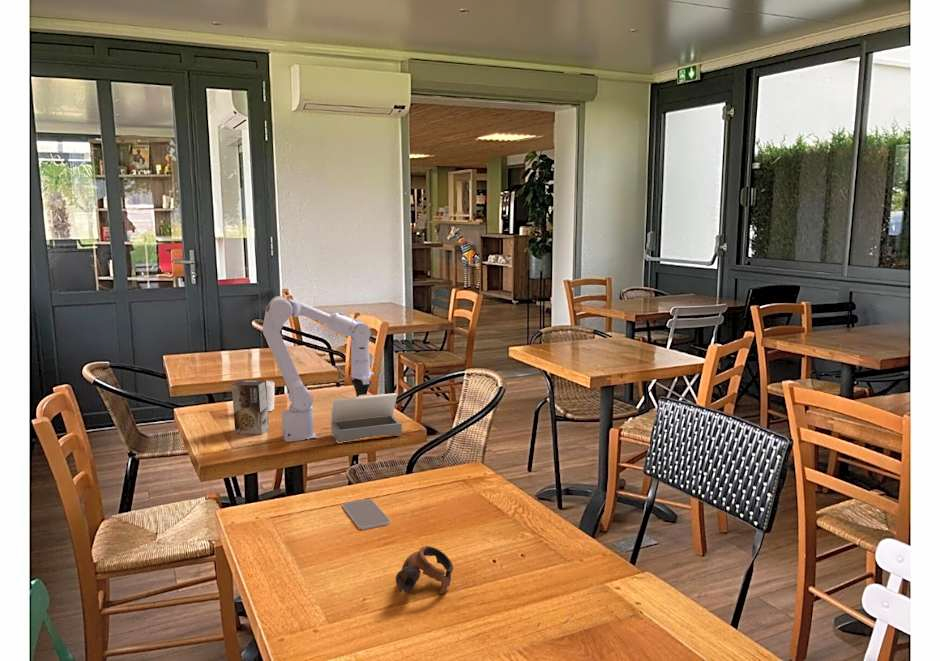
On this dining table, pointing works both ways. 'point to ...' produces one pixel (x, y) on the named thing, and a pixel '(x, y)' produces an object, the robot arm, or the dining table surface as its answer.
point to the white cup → (270, 395)
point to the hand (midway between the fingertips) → (361, 401)
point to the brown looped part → (424, 569)
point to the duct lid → (363, 407)
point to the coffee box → (250, 406)
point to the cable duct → (365, 428)
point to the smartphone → (366, 514)
